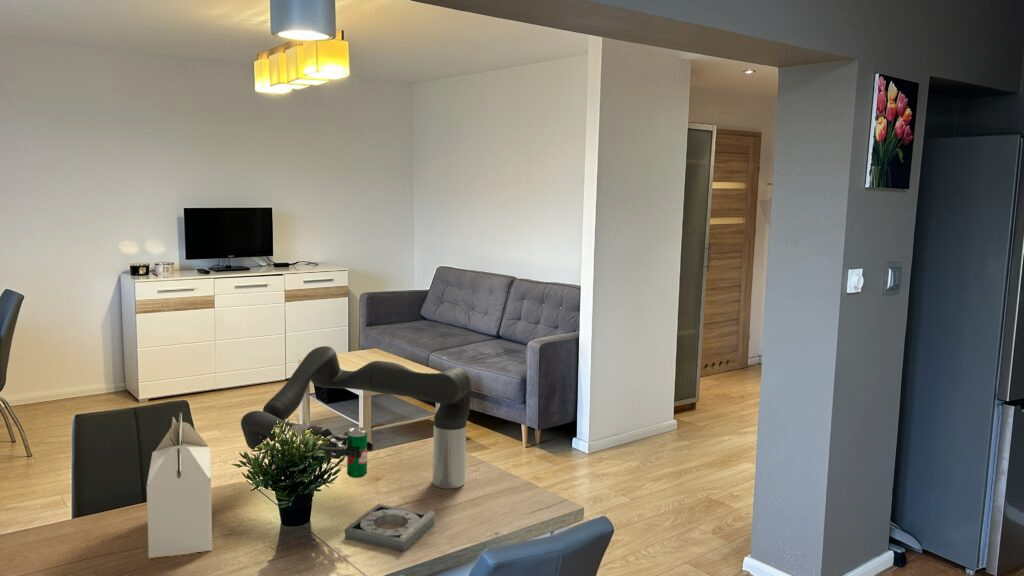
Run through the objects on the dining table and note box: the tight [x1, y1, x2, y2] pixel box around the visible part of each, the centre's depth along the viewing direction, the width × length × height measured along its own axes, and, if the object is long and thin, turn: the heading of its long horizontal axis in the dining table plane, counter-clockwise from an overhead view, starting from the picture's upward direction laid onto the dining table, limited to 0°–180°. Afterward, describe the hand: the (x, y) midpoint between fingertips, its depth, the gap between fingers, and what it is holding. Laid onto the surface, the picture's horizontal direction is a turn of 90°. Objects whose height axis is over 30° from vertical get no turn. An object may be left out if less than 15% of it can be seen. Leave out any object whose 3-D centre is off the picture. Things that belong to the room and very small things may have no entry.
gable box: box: [146, 412, 213, 558], centre depth 185 cm, size 22×13×28 cm, turn 21°
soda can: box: [346, 426, 369, 479], centre depth 199 cm, size 5×5×12 cm
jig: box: [344, 503, 435, 553], centre depth 193 cm, size 16×16×4 cm
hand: (366, 450), depth 198 cm, fingers closed on soda can, 5 cm apart
